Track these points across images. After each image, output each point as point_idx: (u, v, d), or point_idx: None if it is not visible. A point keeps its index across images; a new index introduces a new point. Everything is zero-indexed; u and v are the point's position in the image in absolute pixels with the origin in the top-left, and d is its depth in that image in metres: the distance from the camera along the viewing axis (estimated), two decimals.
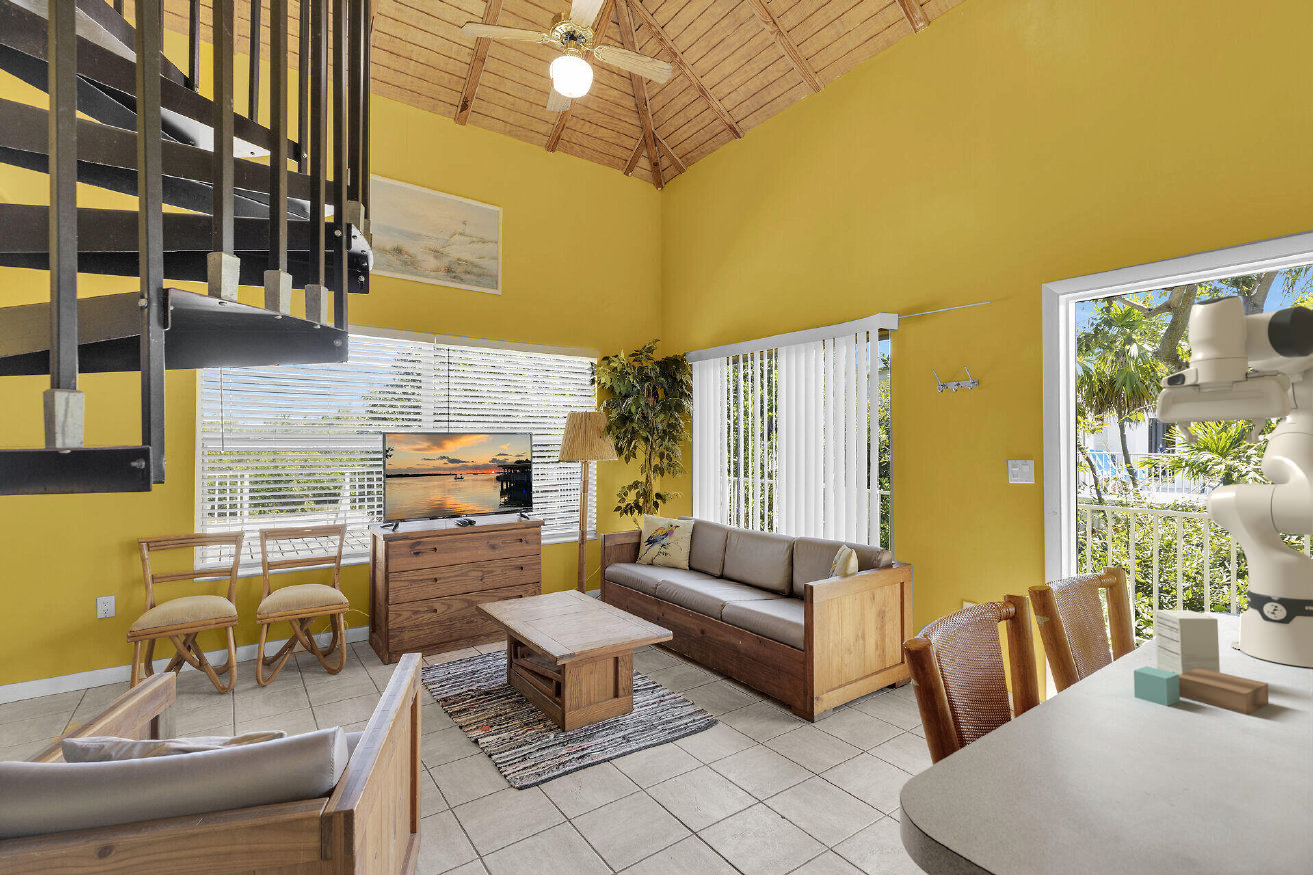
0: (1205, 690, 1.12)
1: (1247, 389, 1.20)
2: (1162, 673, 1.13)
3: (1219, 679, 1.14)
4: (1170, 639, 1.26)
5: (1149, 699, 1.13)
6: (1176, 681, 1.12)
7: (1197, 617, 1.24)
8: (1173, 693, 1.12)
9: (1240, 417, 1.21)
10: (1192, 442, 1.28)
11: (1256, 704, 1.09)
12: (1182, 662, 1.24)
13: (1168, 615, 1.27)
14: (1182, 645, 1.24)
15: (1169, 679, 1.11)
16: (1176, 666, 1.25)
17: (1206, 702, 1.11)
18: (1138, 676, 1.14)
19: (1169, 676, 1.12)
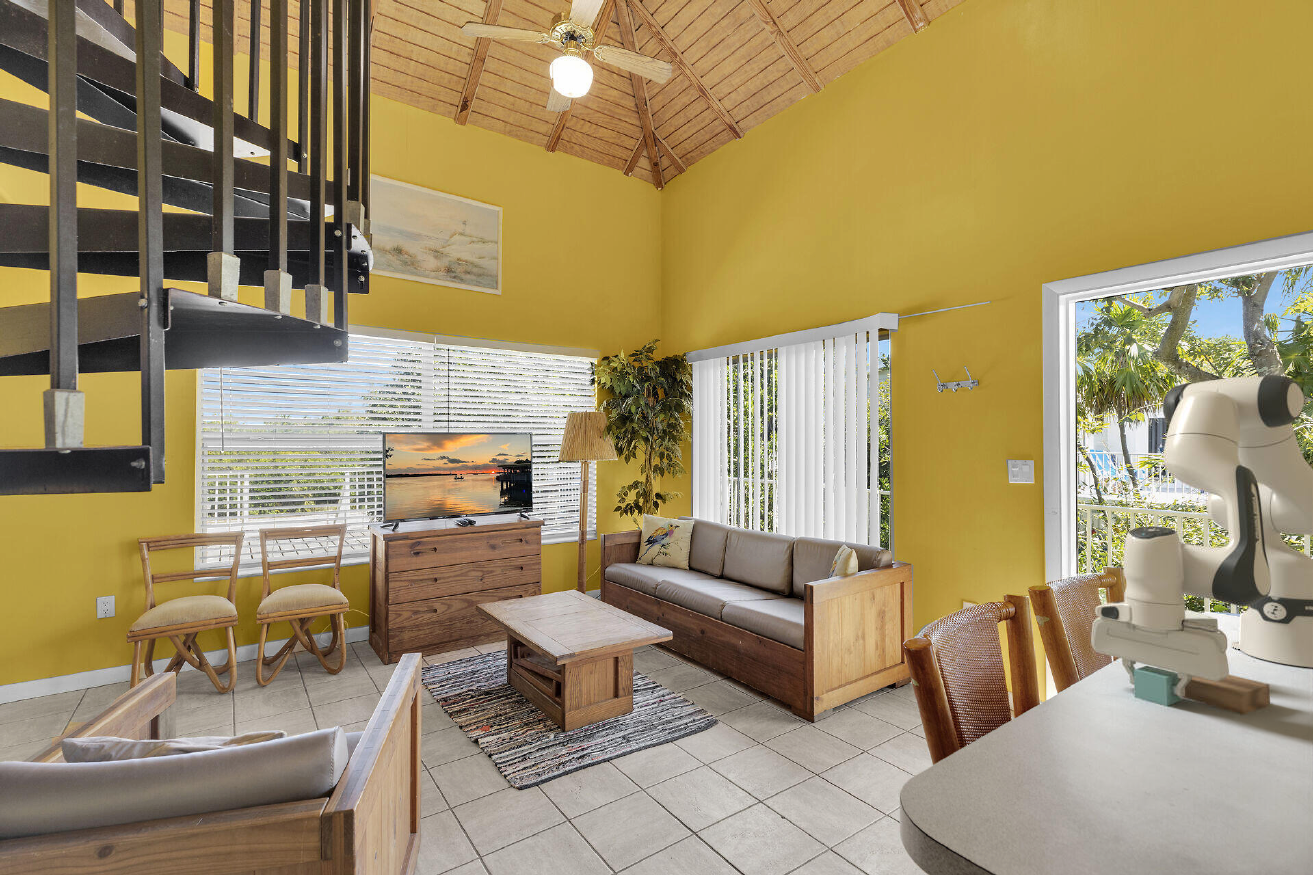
0: (1203, 690, 1.12)
1: (1182, 641, 1.09)
2: (1162, 672, 1.13)
3: None
4: None
5: (1149, 698, 1.13)
6: (1176, 680, 1.12)
7: (1197, 617, 1.24)
8: None
9: (1175, 670, 1.10)
10: None
11: (1255, 704, 1.09)
12: None
13: None
14: None
15: (1169, 679, 1.11)
16: None
17: (1204, 701, 1.12)
18: (1138, 675, 1.14)
19: (1169, 675, 1.12)
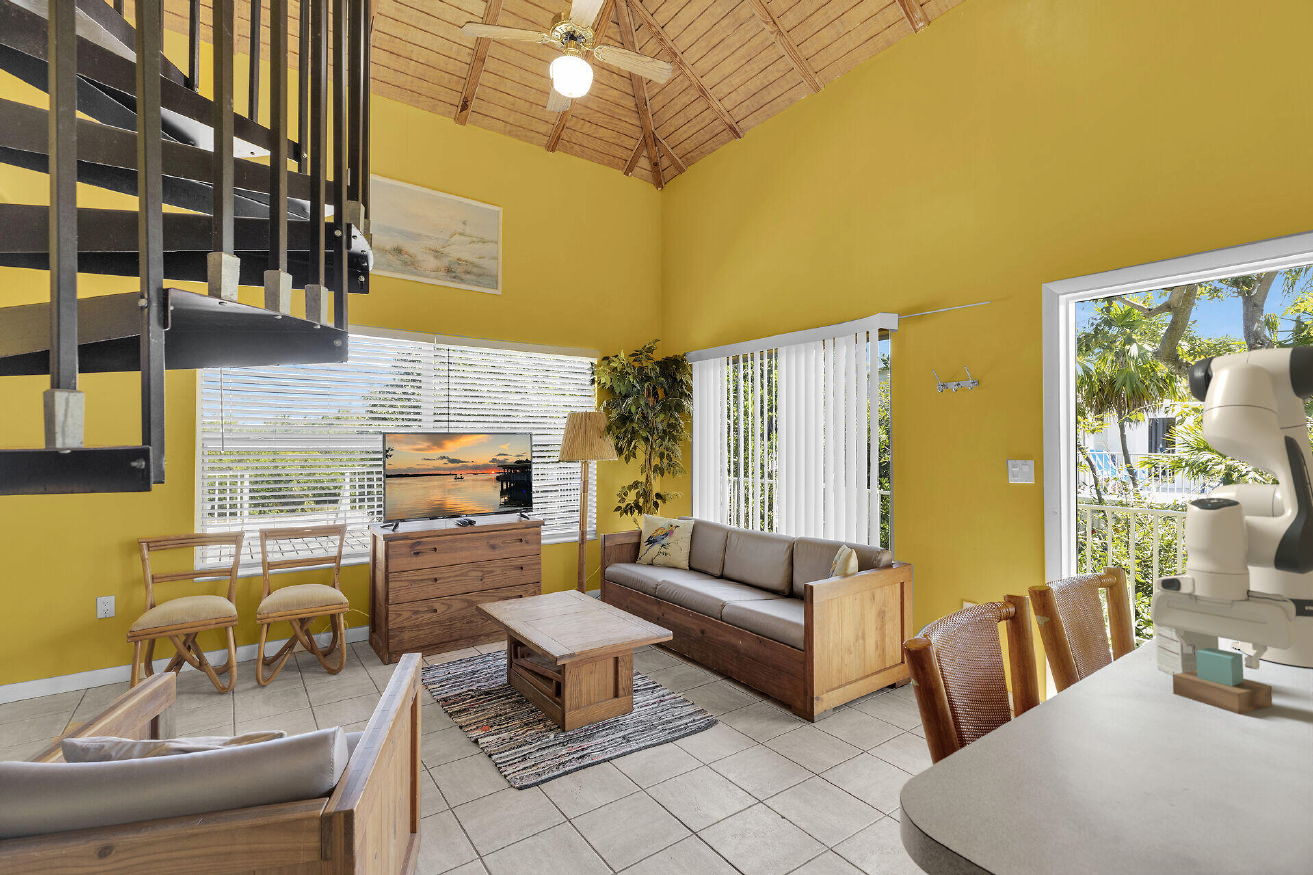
0: (1200, 689, 1.12)
1: (1248, 611, 1.09)
2: (1225, 653, 1.13)
3: None
4: (1170, 639, 1.26)
5: (1213, 679, 1.13)
6: (1240, 661, 1.12)
7: None
8: (1237, 673, 1.12)
9: (1241, 640, 1.10)
10: (1190, 654, 1.17)
11: (1253, 705, 1.09)
12: (1182, 662, 1.24)
13: None
14: (1182, 645, 1.24)
15: (1233, 659, 1.11)
16: (1176, 666, 1.25)
17: (1201, 701, 1.12)
18: (1201, 657, 1.14)
19: (1233, 656, 1.12)
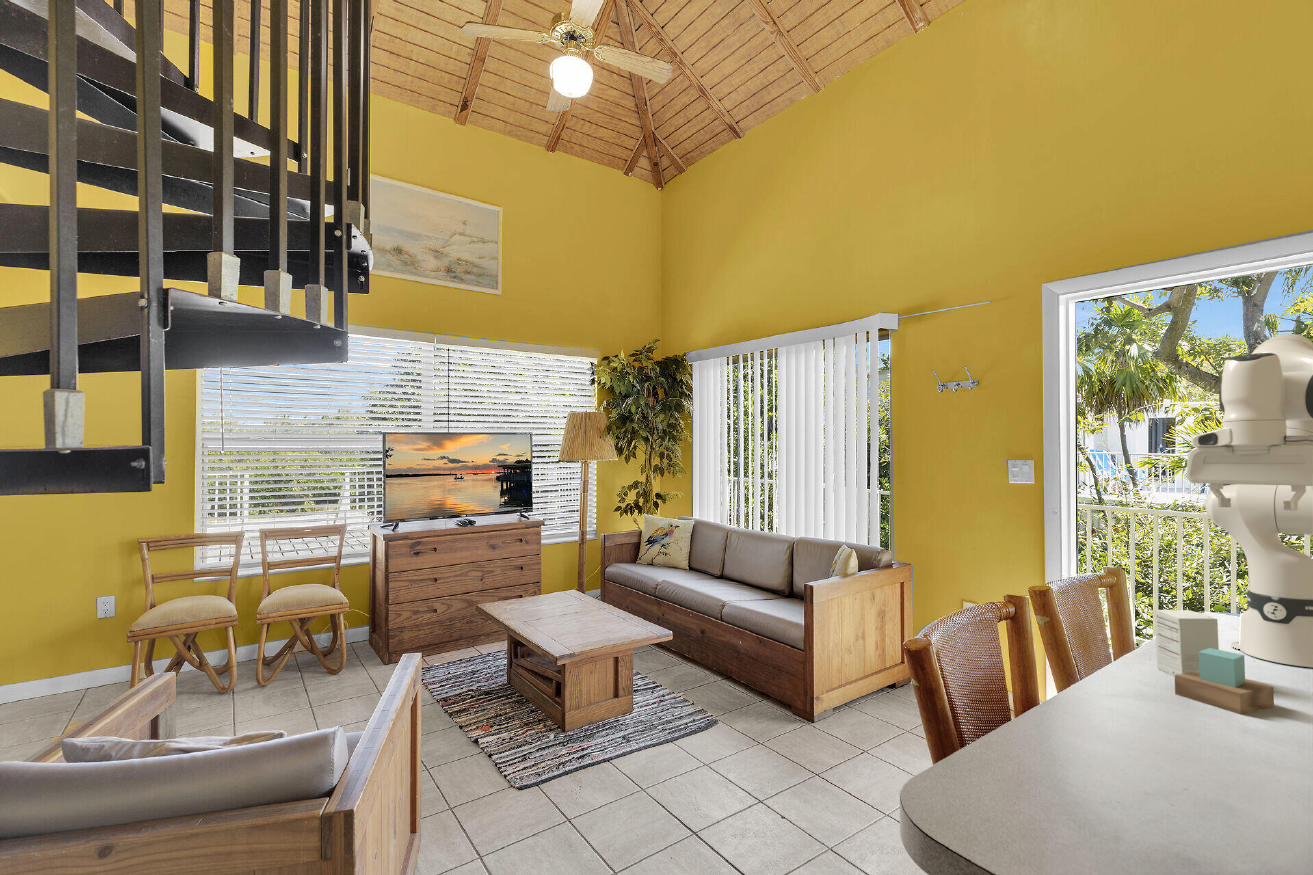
0: (1202, 690, 1.12)
1: (1286, 454, 1.12)
2: (1227, 654, 1.13)
3: None
4: (1170, 639, 1.26)
5: (1215, 680, 1.12)
6: (1242, 662, 1.12)
7: (1197, 617, 1.24)
8: (1240, 674, 1.11)
9: (1278, 483, 1.13)
10: (1225, 506, 1.21)
11: (1255, 705, 1.08)
12: (1182, 662, 1.24)
13: (1168, 615, 1.27)
14: (1182, 645, 1.24)
15: (1236, 660, 1.11)
16: (1176, 666, 1.25)
17: (1203, 701, 1.12)
18: (1203, 657, 1.14)
19: (1236, 657, 1.11)
